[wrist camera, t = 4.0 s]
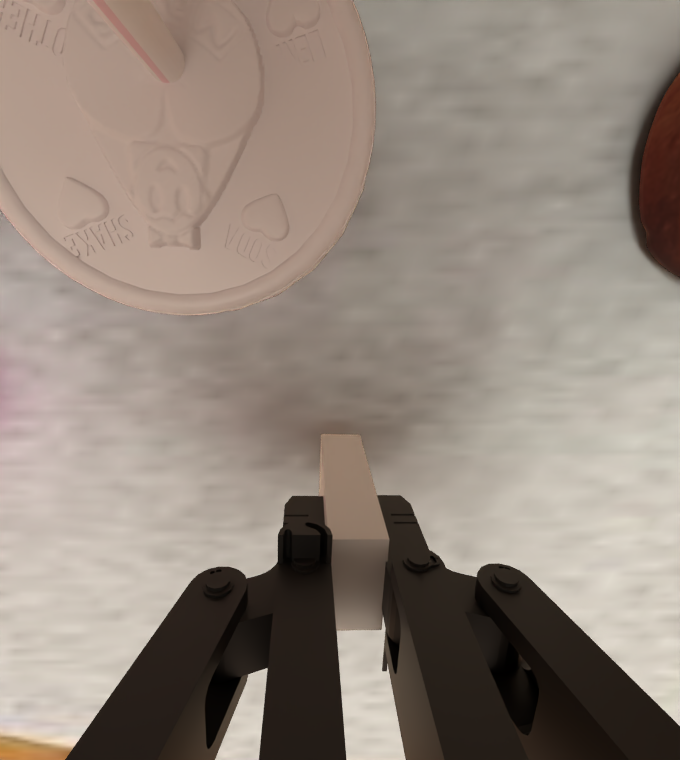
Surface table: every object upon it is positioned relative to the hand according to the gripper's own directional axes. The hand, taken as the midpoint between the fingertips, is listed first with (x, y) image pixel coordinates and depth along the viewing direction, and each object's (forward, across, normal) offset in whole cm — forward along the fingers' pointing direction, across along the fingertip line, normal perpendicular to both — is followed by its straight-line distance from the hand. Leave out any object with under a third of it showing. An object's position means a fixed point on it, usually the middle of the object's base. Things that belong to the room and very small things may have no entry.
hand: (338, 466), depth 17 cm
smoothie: (+2, -4, +10) cm, 11 cm away
